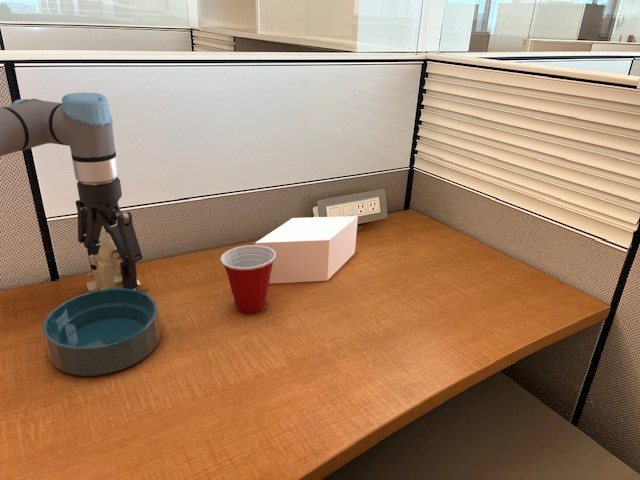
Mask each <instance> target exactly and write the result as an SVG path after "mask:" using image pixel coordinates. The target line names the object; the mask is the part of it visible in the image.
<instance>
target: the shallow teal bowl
mask: <svg viewBox="0 0 640 480" xmlns="http://www.w3.org/2000/svg"><path fill="white" fill-rule="evenodd" d="M41 332H42V336H43V339H44V344H45V348H46V353H47V356H48V358H49V360H50V362H51V364H52V366H53V367H54V368H56V369H58V370H59V371H61V372H63V373H66V374H69V375H74V376H75V375H76V376H78V377H83V376H84V377H85V376H100V375H106V374H110V373H115V372H119V371H122V370H124V369H127V368H128V367H131V366H133V365H135V364H137V363H139V362H140V361H142V360H143V359H145V358H146V357H148V356H149V355H150V354H151V353H152V352H153V350H155V348H156V347H157V346H158V344H159V343H160V342H159V341H160V339H161V336H162V333H161V325H160V316H159V309H158V304H157V301H156V300H155V299H154V298H153V297H152V296H151V295H150V294H147V293H146V292H143V291H141V290H139V289H138V290H132V289H126V288H110V289H103V290H97V291H92V292H89V291H88V292H86V293H83V294H79V295H76V296H74V297H72V298H70V299H68V300H66V301H63V302H62V303H60V304H59V305H58V306H56V307H55V308H54V309H53V310H51V311H50V312H49V314H48V315H47V316H46V317H45V318H44V320H43V324H42V329H41Z"/></svg>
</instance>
